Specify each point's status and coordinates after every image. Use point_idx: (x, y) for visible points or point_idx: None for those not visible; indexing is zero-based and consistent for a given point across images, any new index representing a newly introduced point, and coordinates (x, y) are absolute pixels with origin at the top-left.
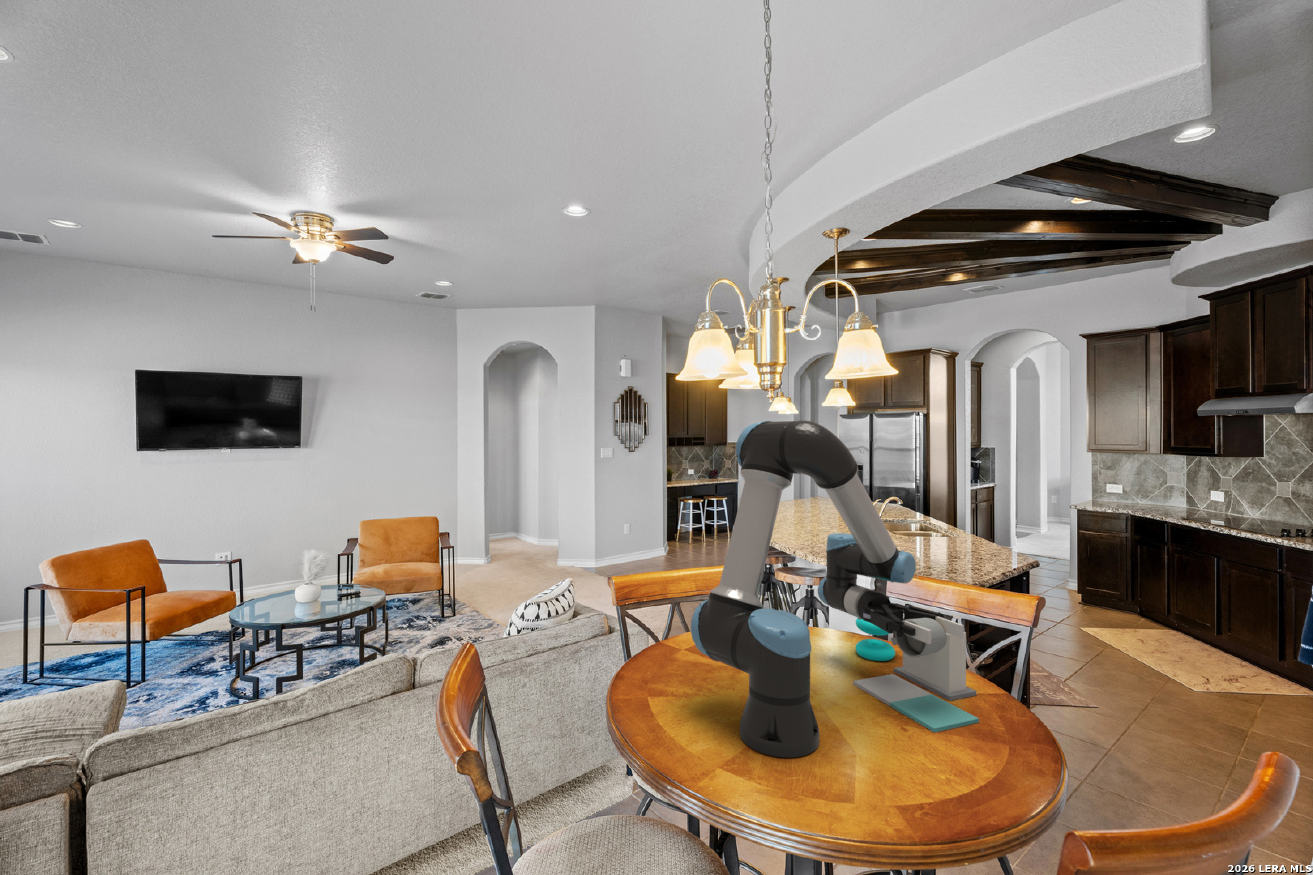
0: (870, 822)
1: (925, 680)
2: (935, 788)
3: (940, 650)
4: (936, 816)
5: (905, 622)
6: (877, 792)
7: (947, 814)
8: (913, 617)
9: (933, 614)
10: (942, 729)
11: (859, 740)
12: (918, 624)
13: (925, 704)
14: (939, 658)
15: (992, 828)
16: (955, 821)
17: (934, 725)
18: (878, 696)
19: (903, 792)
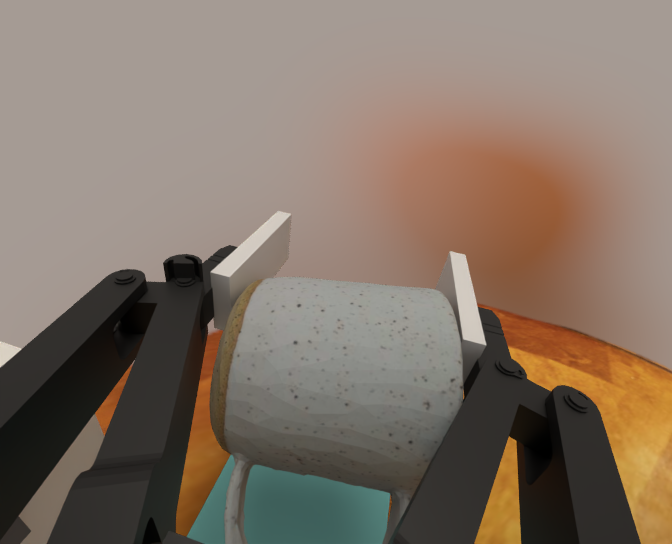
0: (662, 386)
1: None
2: (527, 366)
3: (51, 478)
4: (562, 347)
5: (483, 338)
6: (629, 410)
7: (545, 342)
8: (182, 436)
9: (163, 299)
10: None
11: None
12: (440, 292)
13: (286, 518)
14: (57, 507)
15: (509, 313)
16: (543, 334)
17: None
18: None
19: (583, 388)
